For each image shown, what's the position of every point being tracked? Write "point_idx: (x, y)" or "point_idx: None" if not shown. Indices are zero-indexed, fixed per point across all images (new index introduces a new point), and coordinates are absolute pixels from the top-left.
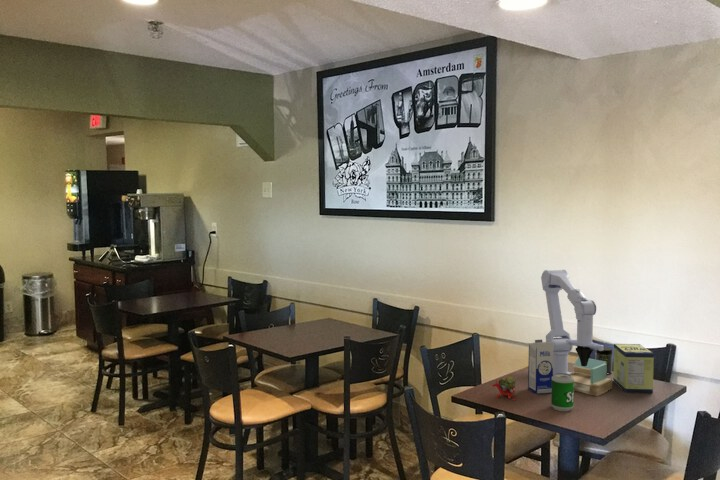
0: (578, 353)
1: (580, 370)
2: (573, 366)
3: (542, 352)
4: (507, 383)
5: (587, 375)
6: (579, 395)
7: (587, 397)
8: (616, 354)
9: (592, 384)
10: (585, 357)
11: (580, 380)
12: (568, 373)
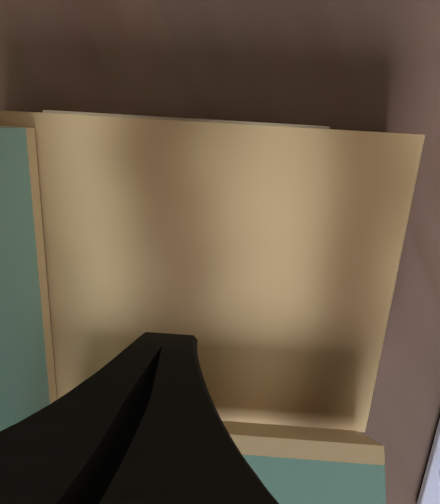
0: (218, 469)
1: (288, 431)
2: (374, 446)
3: None
4: None
5: (217, 408)
6: (119, 8)
7: (39, 4)
8: None
9: (6, 126)
10: (38, 411)
11: (190, 211)
12: (432, 487)
